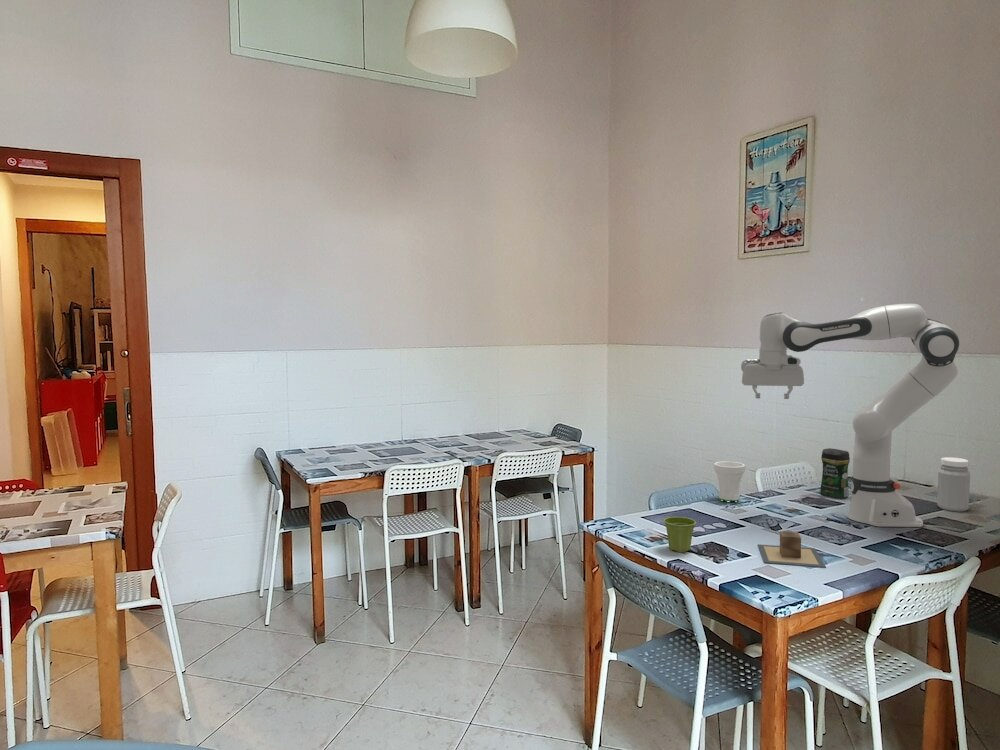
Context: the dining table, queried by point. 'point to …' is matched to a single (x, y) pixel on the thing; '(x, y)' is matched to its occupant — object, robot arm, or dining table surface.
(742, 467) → the cup
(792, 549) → the walnut block
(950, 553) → the dining table surface
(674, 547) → the plant pot
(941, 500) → the jar
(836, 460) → the coffee jar
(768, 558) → the coaster mat
